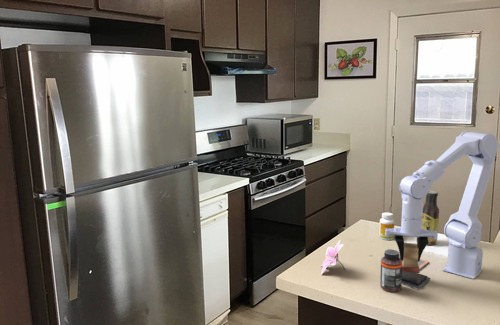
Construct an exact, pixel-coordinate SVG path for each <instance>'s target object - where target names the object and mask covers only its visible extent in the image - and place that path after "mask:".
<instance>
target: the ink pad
mask: <svg viewBox="0 0 500 325" xmlns="http://www.w3.org/2000/svg"><path fill="white" fill-rule="evenodd" d="M431 280H432V279H431V277H429V276H427V275H425V274H422V273H411V272H402V282H401V285H404V286H406V287H410V288H414V289H416V290H421V289H422V288H423V287H424V286H426V285H427V284H428V283H429V282H431Z"/></svg>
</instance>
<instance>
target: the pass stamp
mask: <svg viewBox="0 0 500 325" xmlns="http://www.w3.org/2000/svg"><path fill="white" fill-rule="evenodd" d="M418 249H419V248H418V246H417V242H416V243H415V242H414V243H412V242H404V249H403V261H402V272H411V273H418V274H420V270H421V269H420V268H419V266H418ZM419 269H420V270H419Z"/></svg>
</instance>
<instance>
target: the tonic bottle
mask: <svg viewBox="0 0 500 325" xmlns="http://www.w3.org/2000/svg"><path fill="white" fill-rule="evenodd" d="M438 196H439V192H438V191H436V190H431V189H429V191H428V193H427V195H426V196H425V202H424V203H423V211H422V229H424V230H430V231H437V233H438V231H439V229H438V228H439V221H440V220H439V219H440V217H439V216H440V209H439V207H438V204H437V203H438V202H437V201H438ZM437 240H438V238H437V239H433V238H428V244H427V246H433V245H436V244H437Z"/></svg>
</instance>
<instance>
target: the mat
mask: <svg viewBox="0 0 500 325" xmlns="http://www.w3.org/2000/svg"><path fill="white" fill-rule="evenodd" d="M399 258H400V253H399ZM429 263H430V261H429V260H425V259H422V258H420V261H419V262H418V266H419V268H420V269H419V271H420V270H422V269H423V268H424V267H426V265H428V264H429Z"/></svg>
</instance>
